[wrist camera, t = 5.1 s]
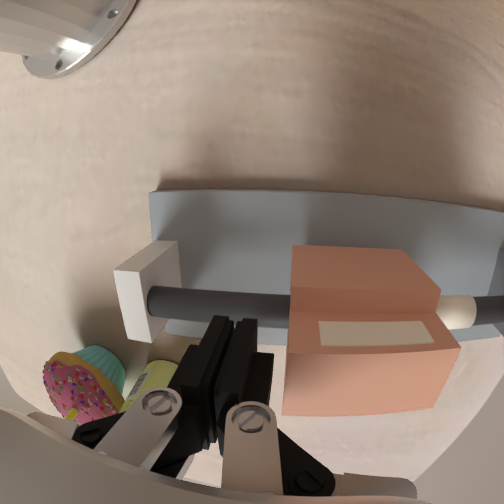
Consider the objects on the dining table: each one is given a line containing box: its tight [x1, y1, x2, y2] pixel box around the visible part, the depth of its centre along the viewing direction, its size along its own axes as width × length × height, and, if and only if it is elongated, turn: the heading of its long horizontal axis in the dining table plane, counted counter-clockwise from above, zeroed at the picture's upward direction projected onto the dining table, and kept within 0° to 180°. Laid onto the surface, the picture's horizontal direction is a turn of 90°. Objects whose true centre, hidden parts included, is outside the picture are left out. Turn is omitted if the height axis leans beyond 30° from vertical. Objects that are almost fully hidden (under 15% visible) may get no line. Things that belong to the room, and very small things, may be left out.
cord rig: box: [113, 189, 504, 346], centre depth 14 cm, size 27×10×8 cm, turn 90°
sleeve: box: [282, 245, 461, 416], centre depth 12 cm, size 6×5×8 cm
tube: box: [119, 360, 178, 413], centre depth 14 cm, size 6×5×20 cm
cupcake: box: [43, 345, 126, 425], centre depth 18 cm, size 9×8×12 cm
